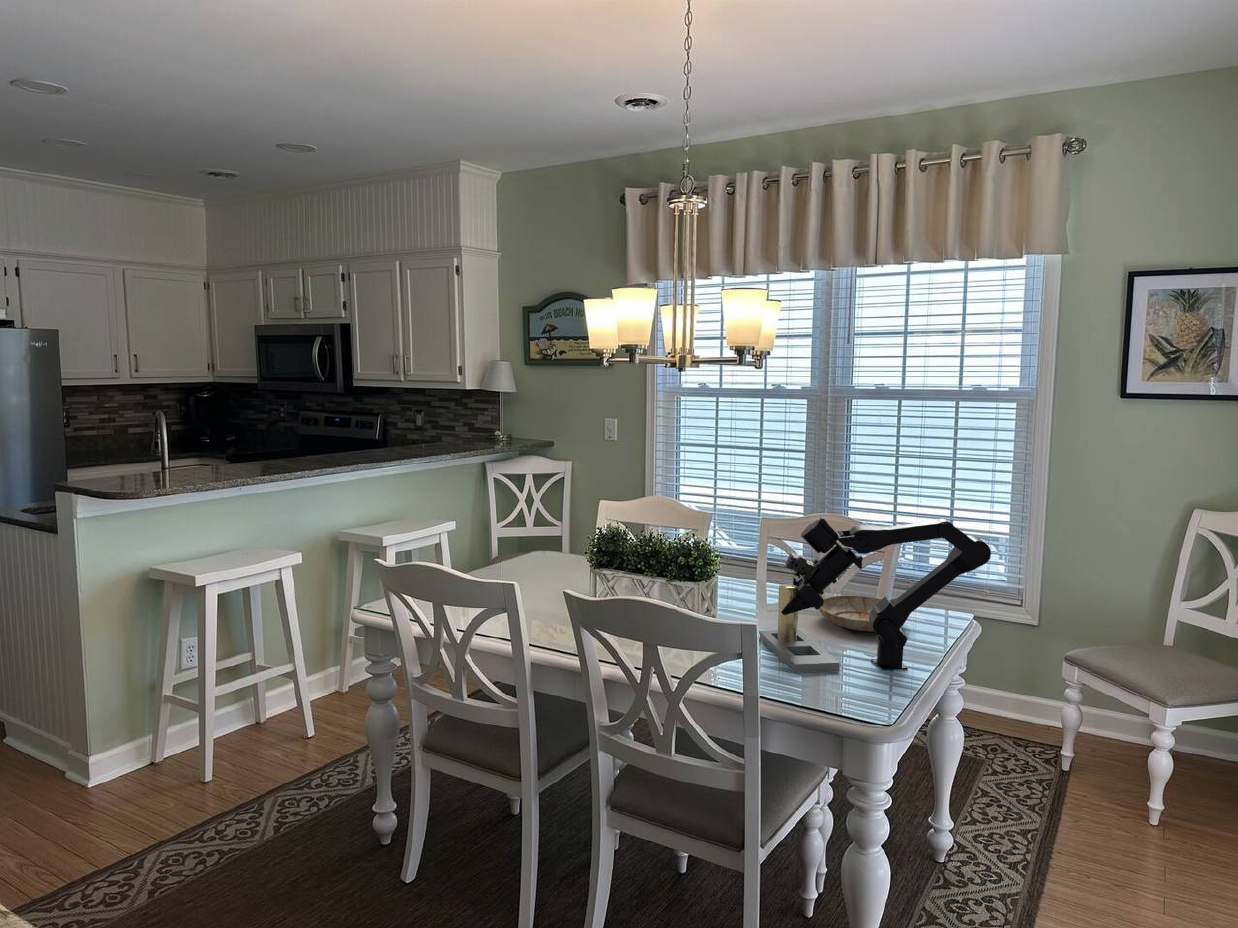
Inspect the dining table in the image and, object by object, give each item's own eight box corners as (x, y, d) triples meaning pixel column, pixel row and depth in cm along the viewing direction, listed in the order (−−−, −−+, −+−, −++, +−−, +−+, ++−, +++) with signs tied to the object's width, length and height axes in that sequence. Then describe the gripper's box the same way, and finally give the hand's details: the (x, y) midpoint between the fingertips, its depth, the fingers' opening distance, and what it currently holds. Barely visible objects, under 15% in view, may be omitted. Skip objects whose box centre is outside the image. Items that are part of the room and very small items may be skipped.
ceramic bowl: (799, 617, 238) (800, 600, 238) (863, 608, 249) (864, 591, 248) (858, 643, 218) (859, 624, 217) (924, 631, 229) (926, 613, 228)
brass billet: (799, 642, 203) (801, 588, 201) (781, 643, 202) (782, 589, 200) (792, 636, 207) (793, 583, 205) (774, 637, 206) (775, 584, 205)
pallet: (839, 670, 197) (839, 662, 197) (794, 672, 195) (794, 664, 195) (799, 637, 221) (799, 629, 221) (758, 638, 219) (759, 630, 219)
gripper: (803, 534, 210) (757, 576, 213) (810, 551, 192) (759, 597, 195) (835, 566, 210) (788, 608, 213) (845, 586, 192) (793, 632, 195)
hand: (782, 610), depth 204 cm, fingers closed on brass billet, 4 cm apart
